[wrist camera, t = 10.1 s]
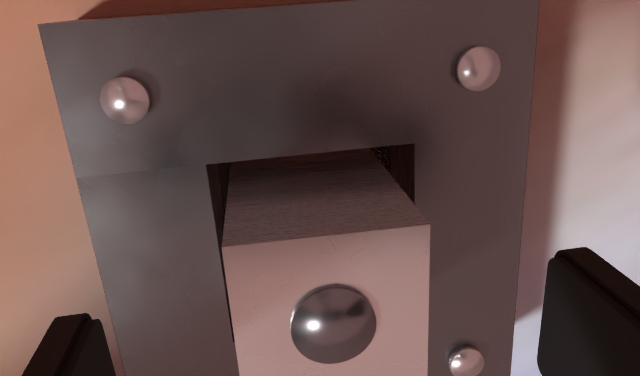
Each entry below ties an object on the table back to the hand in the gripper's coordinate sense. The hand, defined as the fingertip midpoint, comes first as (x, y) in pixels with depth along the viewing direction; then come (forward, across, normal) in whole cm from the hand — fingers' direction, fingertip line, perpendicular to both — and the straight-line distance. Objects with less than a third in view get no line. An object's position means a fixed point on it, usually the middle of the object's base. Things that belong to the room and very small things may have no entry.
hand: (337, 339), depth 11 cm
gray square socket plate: (+8, 0, +1) cm, 8 cm away
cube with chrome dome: (+8, 0, +1) cm, 8 cm away
